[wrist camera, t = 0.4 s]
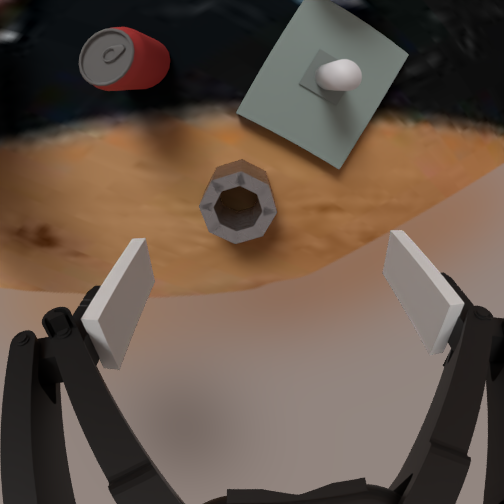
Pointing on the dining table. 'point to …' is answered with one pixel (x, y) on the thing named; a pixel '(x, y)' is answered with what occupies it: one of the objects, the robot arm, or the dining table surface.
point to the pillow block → (323, 80)
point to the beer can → (123, 60)
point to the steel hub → (241, 222)
